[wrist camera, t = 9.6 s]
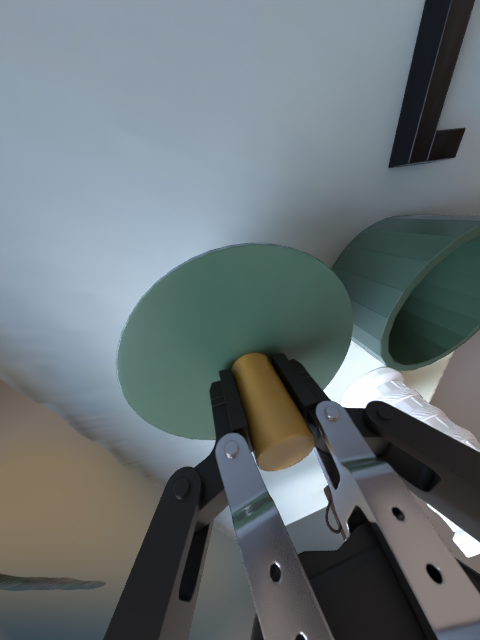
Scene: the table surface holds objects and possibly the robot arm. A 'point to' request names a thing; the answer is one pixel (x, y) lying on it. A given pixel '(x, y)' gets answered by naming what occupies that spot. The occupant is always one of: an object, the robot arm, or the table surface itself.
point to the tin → (413, 287)
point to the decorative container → (392, 391)
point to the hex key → (431, 85)
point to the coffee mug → (331, 504)
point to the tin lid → (235, 343)
